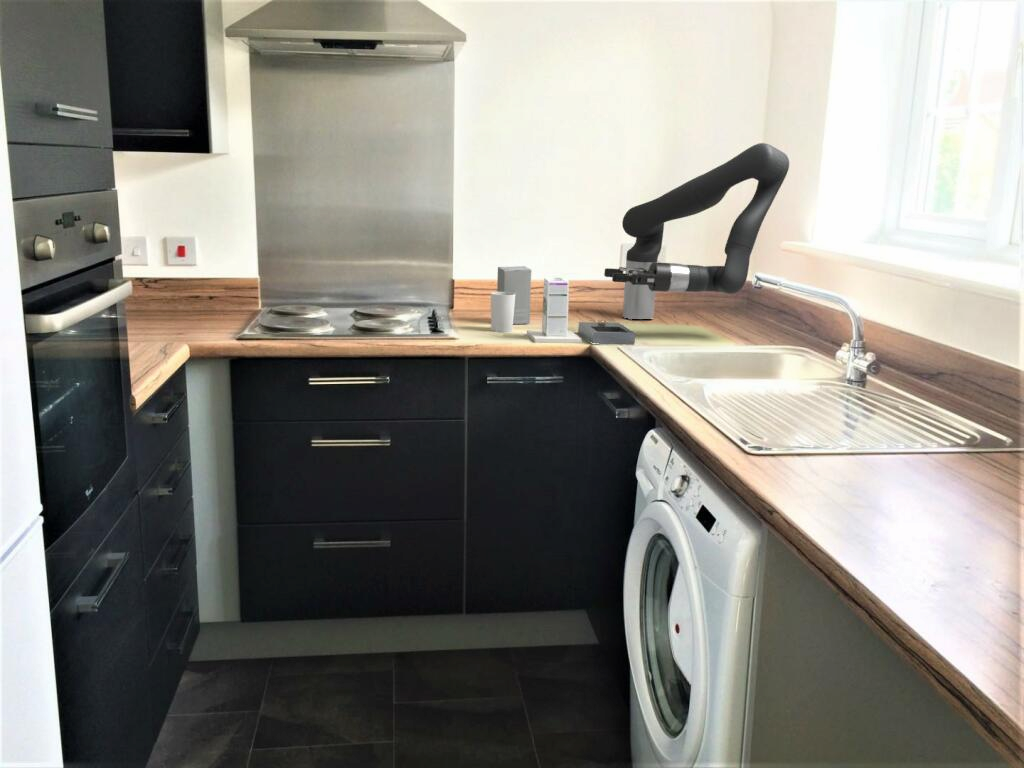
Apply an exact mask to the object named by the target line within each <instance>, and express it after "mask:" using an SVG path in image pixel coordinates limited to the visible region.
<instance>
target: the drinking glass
mask: <svg viewBox="0 0 1024 768" xmlns="http://www.w3.org/2000/svg"><path fill="white" fill-rule="evenodd" d="M514 305H515V293H511V292H497V291H491V292H490V315H491V316H490V323H491V324H490V327H491V328H490V330H491V331H492V332H494V333H512V332H513V328H514V324H513V317H514Z"/></svg>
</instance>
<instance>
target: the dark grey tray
mask: <svg viewBox="0 0 1024 768" xmlns="http://www.w3.org/2000/svg"><path fill="white" fill-rule="evenodd" d="M577 333H578V335H580V336H581V337H583V338H584V339H585V338H586V339H587V341H588V340H589V341H590V342H592V343H599V344H634V343H636V332H635V331H632V330H631V329H629V328H627V327H626V326H624V325H623V324H621V323H620V322H607V321H606V320H603V319H598V320H597V322H595V321H594V322H593V321H592V322H591V321H582V322H581V321H579V322H578V332H577ZM586 339H585V340H586ZM589 341H588V342H589ZM590 342H589V343H590ZM592 343H591V344H592Z"/></svg>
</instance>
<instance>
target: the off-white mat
mask: <svg viewBox="0 0 1024 768" xmlns="http://www.w3.org/2000/svg"><path fill="white" fill-rule="evenodd" d="M526 335H527V336H528V338H530V339H531V340H532V341H533V342H534V343H536V344H537V343H540V344H541V343H542V344H543V343H546V344H548V343H549V344H553V343H554V344H557V343H558V344H560V343H561V344H562V343H563V344H565V343H567V344H581V343H582V338H581V337H580V336H579V335H578V334H576V333H575V332H573V331H572V330H567V336H546V335H545V334H544V333H543V332H542V329H537V330H536V329H526Z"/></svg>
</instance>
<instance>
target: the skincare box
mask: <svg viewBox="0 0 1024 768" xmlns="http://www.w3.org/2000/svg"><path fill="white" fill-rule="evenodd" d="M532 272H533V271H532V268H529V267H527V266H525V265H522V266H521V265H520V266H497V282H496V283H497V284H496V285H497V287H496V288H497V289H496V290H497V291H496V292H511V293H515V305H514V317H513V325H524V324H525V325H527V324H530V322H531V294H532V293H531V292H532V290H531V289H532Z"/></svg>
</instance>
